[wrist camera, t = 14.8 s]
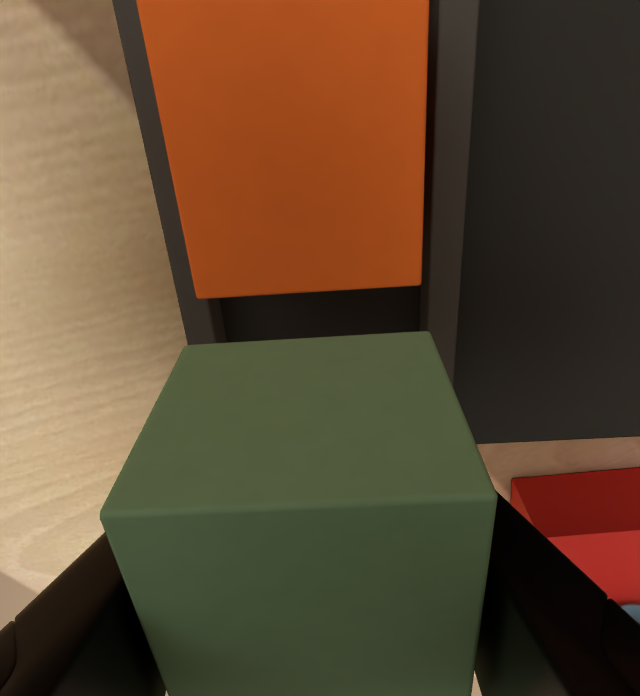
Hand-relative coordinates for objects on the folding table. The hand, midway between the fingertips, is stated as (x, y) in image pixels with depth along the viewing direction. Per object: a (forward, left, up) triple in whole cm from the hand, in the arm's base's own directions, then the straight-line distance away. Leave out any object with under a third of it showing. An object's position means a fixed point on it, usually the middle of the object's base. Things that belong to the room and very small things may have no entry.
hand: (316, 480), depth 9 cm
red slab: (+11, -11, -8) cm, 17 cm away
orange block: (0, +5, -6) cm, 8 cm away
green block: (0, 0, -1) cm, 1 cm away
